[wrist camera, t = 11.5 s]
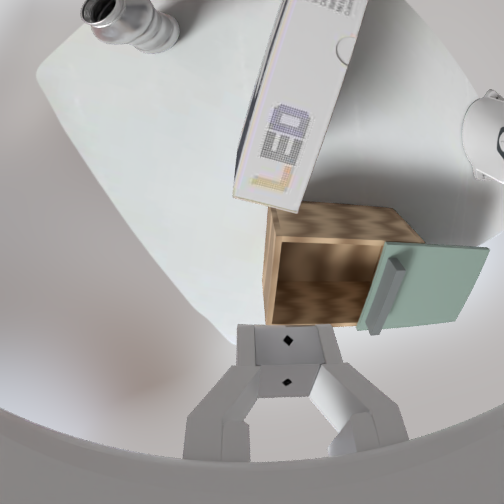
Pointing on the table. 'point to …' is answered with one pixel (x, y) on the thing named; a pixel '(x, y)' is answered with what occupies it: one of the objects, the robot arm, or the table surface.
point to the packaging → (294, 99)
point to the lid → (420, 285)
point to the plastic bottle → (131, 24)
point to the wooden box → (325, 260)
